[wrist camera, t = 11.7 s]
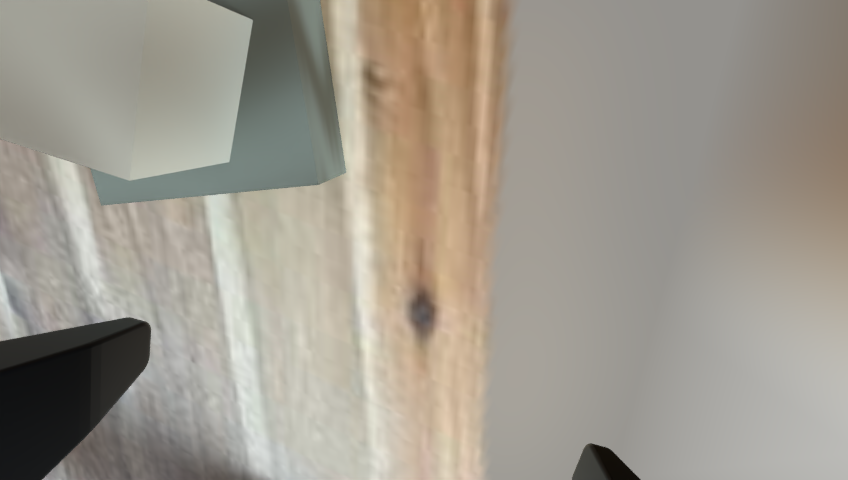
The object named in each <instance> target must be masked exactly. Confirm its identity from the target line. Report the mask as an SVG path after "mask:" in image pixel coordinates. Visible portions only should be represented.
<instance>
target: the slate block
mask: <svg viewBox="0 0 848 480" xmlns="http://www.w3.org/2000/svg"><path fill="white" fill-rule="evenodd" d="M208 1H210V2H212V3H215V4H217V5H219V6H222V7H224V8H226V9H229V10H231V11H233V12H236V13H238V14H240V15H243V16H245V17H247V18H250V19H252V20H253V23H252V29H251V35H250V41H249V47H248V53H247V59H246V65H245V71H244V77H243V83H242V89H241V95H240V101H239V107H238V113H237V119H236V125H235V131H234V137H233V143H232V149H231V155H230V161H229V162H227V163H222V164H216V165H211V166H206V167H200V168H195V169H190V170H184V171H179V172H174V173H168V174H163V175H158V176H152V177H147V178H142V179H136V180H131V181H129V180H126V179H122V178H119V177H116V176H113V175H110V174H107V173H104V172H101V171H98V170H95V169H92V168H90V169H91V172H92V175H93V179H94V182H95V186H96V189H97V192H98V196H99V199H100V202H101V205H111V204H121V203H132V202H142V201H153V200H163V199H174V198H184V197H195V196H205V195H216V194H226V193H237V192H247V191H258V190H268V189H279V188H289V187H300V186H310V185H319V184H321V183H324V182H326V181H328V180H330V179H333V178H335V177H337V176H340V175H342V174H344V173H346V168H345V161H344V155H343V148H342V142H341V135H340V128H339V122H338V115H337V109H336V102H335V96H334V89H333V83H332V76H331V69H330V63H329V56H328V50H327V43H326V37H325V30H324V24H323V17H322V10H321V4H320V0H208Z"/></svg>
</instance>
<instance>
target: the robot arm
mask: <svg viewBox="0 0 848 480" xmlns="http://www.w3.org/2000/svg"><path fill="white" fill-rule="evenodd" d="M150 339H151V327H150V325H149V323H147V322H145V321H141V320H138V319H134V318H122V319H117V320H111V321H106V322H101V323H96V324H90V325H85V326H80V327H74V328H69V329H64V330H58V331H53V332H48V333H42V334H37V335H32V336H27V337H21V338H16V339H11V340H5V341H0V480H42V479H43V478H44V477H45V476H46V475H47V474H48V473H49V472H50V471H51V470H52V469H53V468H54V467H55V466H56V465H57V464H58V463H59V462H60V461H62V460H63V459H64V458H65V457H66V456H67V455H68V454H69V453H70V452H71V451H72V450H73V449H74V448H75V447H76V446H77V445H78V444H79V443H80V442H81V441H82V440H83V439H84V438H85V437H86V436H87V435H88V434H89V433H90V432H91V431H92V430H93V428H94V427H95V426H96V425H97V424H98V423H99V422H100V421H101V420H102V418H103V417H104V416H105V415H106V414H107V413H108V411H109V410H110V409H111V408H112V407H113V405H114V404H115V403H116V402H117V401H118V400H119V398H120V397H121V396H122V395H123V394H124V393H125V391H126V390H127V389H128V388H129V387H130V386H131V384H132V383H133V382H134V381H135V380H136V379H137V377H138V376H139V375H140V374H141V373H142V372H143V370H144V369H145V367H146V366H147V364H148V361H149V356H150ZM572 480H640V479H639V478H638V477H637V476H636V475H635V474H634V473H633V472H632V471H631V470H630V469H629V468H628V467H627V466H626V465H625V464H624V463H623V462H622V461H621V460H620V459H619V457H618V456H617V455H616V454H614V452H613V451H612V450H610V449H609V448H606V447H602V446H599V445H595V444H587V445H586V446H585V448H584V450H583V452H582V454H581V457H580V460H579V462H578V464H577V467H576V469H575V472H574V474H573V477H572Z"/></svg>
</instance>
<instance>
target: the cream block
mask: <svg viewBox="0 0 848 480" xmlns="http://www.w3.org/2000/svg"><path fill="white" fill-rule="evenodd" d="M252 23H253V20H252V19H250V18H247V17H245V16H243V15H240V14H238V13H236V12H233V11H231V10H229V9H226V8H224V7H222V6H219V5H217V4H215V3H212V2H210V1H208V0H0V139H2V140H5V141H8V142H11V143H14V144H17V145H20V146H23V147H27V148H30V149H33V150H36V151H39V152H42V153H45V154H48V155H51V156H54V157H57V158H61V159H64V160H67V161H70V162H73V163H76V164H79V165H82V166H85V167H88V168H92V169H95V170H98V171H101V172H104V173H107V174H110V175H113V176H116V177H119V178H122V179H126V180H129V181H131V180H136V179H142V178H147V177H152V176H158V175H163V174H168V173H174V172H179V171H184V170H190V169H195V168H200V167H206V166H211V165H216V164H222V163H227V162H229V161H230V155H231V149H232V143H233V137H234V131H235V125H236V119H237V113H238V107H239V101H240V95H241V89H242V83H243V77H244V71H245V65H246V59H247V53H248V47H249V41H250V35H251V29H252Z"/></svg>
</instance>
